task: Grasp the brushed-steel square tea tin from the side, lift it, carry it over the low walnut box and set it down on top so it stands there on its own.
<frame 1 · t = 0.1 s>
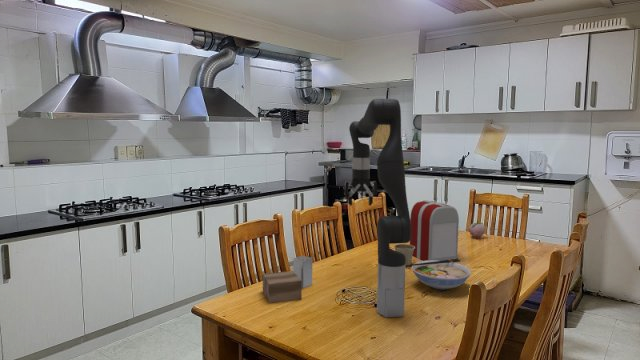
hand: (360, 205, 191), 29 cm above the table, tool pointing down, fingers open, 8 cm apart
ramen bowl: (440, 287, 175), on the table
flower pot: (403, 265, 203), on the table
skincare box: (426, 245, 239), on the table
decorative fruit: (476, 238, 254), on the table
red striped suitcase: (432, 257, 215), on the table
walnut box: (281, 295, 165), on the table
steel tea tin: (302, 284, 176), on the table
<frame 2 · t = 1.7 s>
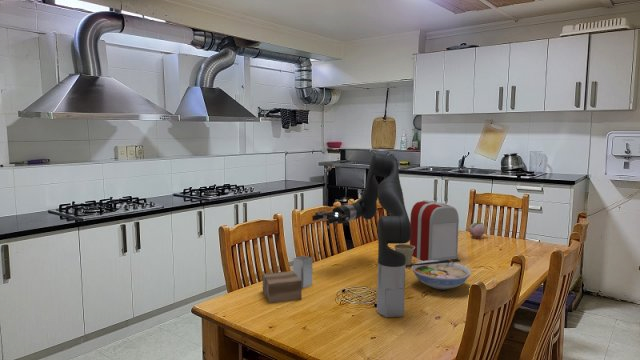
hand: (320, 219, 182), 25 cm above the table, tool horizontal, fingers open, 8 cm apart
nothing on the table moved.
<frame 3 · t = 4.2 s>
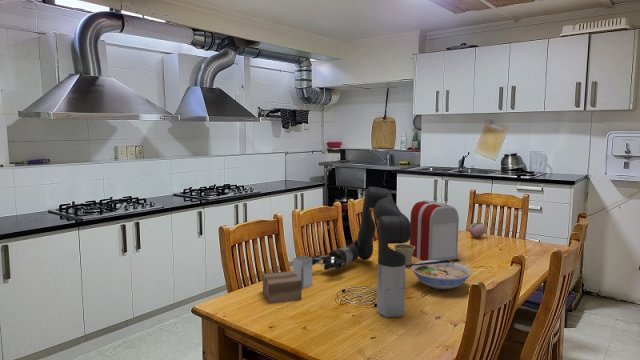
hand: (316, 265, 182), 6 cm above the table, tool horizontal, fingers open, 8 cm apart
nothing on the table moved.
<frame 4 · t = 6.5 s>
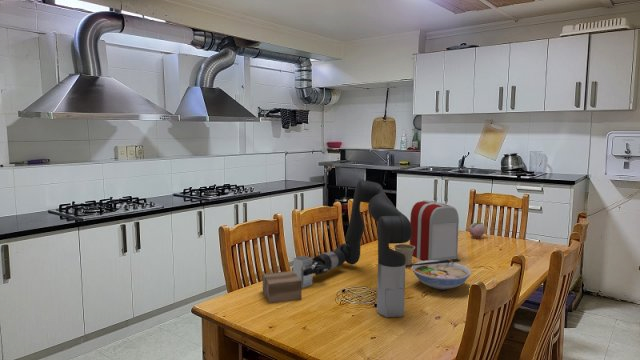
hand: (298, 271, 174), 6 cm above the table, tool horizontal, fingers closed on steel tea tin, 5 cm apart
steel tea tin: (302, 284, 176), on the table, touching gripper
everything else where it was.
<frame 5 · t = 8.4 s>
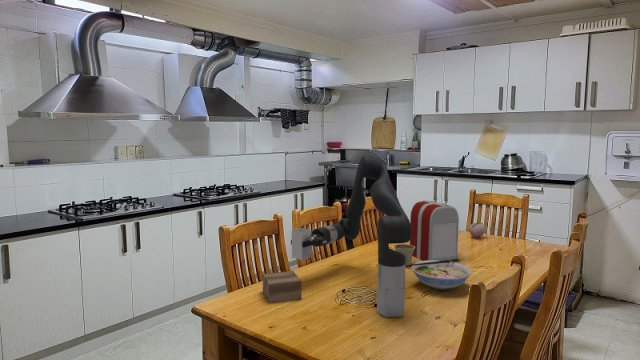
hand: (297, 243, 172), 18 cm above the table, tool horizontal, fingers closed on steel tea tin, 5 cm apart
steel tea tin: (301, 257, 174), point 12 cm above the table, touching gripper
everything else where it was.
when the fingers open (13 cm above the table, at t = 10.6 s): steel tea tin stays where it is, resting on walnut box.
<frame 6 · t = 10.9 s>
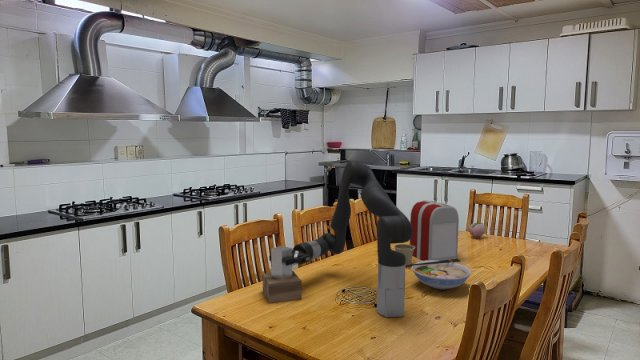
hand: (277, 260, 162), 14 cm above the table, tool horizontal, fingers open, 8 cm apart
steel tea tin: (281, 277, 164), point 7 cm above the table, touching walnut box
everything else where it was.
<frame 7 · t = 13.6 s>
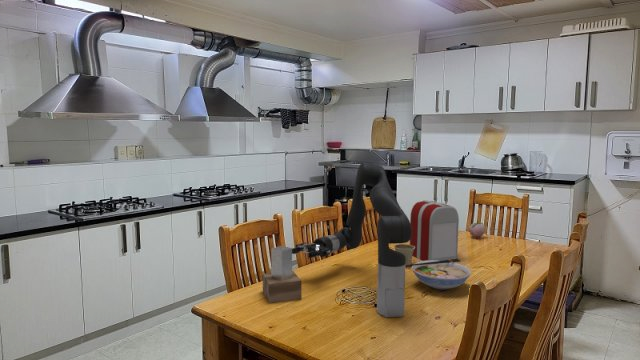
hand: (300, 253, 172), 14 cm above the table, tool horizontal, fingers open, 8 cm apart
nothing on the table moved.
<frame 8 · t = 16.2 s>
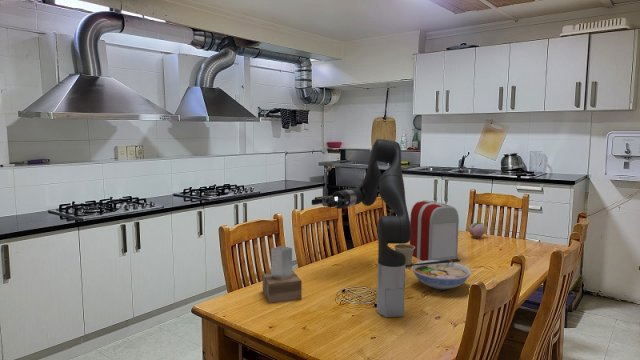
hand: (320, 203, 178), 32 cm above the table, tool horizontal, fingers open, 8 cm apart
nothing on the table moved.
at the end: steel tea tin inside the target area on the walnut box (0.1 cm from its centre), point 7.0 cm above the walnut box's base; steel tea tin tilted 0°; the gripper is holding nothing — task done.
